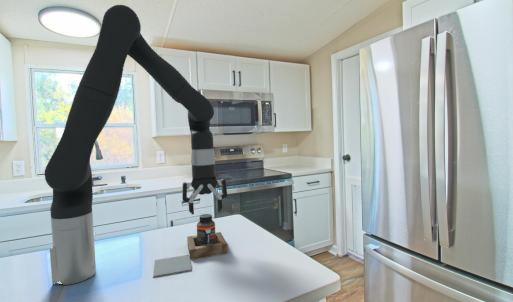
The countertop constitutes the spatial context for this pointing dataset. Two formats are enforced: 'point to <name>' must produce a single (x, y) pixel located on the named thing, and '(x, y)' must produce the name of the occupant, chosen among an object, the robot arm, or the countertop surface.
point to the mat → (172, 265)
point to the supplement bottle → (206, 230)
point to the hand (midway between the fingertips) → (205, 212)
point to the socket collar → (207, 247)
